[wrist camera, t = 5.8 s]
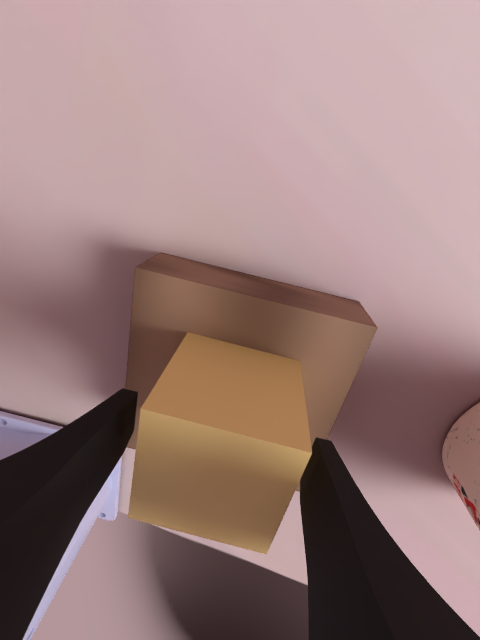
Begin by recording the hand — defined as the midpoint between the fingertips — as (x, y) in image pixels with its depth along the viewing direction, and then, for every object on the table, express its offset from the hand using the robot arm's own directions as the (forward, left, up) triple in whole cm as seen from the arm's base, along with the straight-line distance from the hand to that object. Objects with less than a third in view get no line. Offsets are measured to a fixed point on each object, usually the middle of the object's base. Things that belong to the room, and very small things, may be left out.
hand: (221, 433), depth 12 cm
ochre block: (0, 0, -2) cm, 2 cm away
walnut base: (0, 0, -5) cm, 5 cm away
